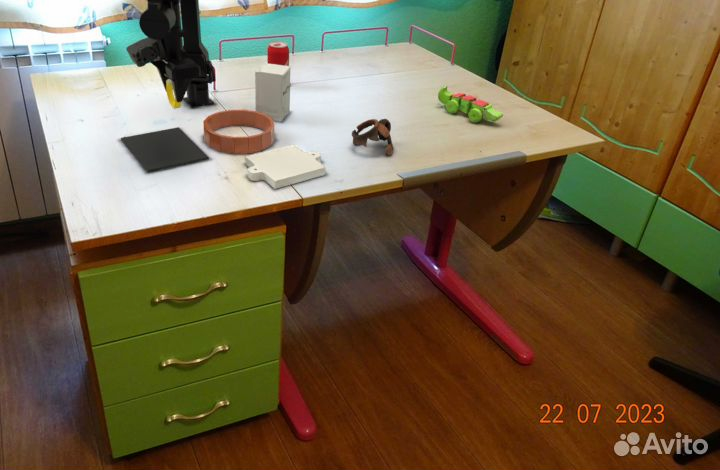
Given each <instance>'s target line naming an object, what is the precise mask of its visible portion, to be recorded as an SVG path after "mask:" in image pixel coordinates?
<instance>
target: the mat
mask: <svg viewBox="0 0 720 470" xmlns="http://www.w3.org/2000/svg"><path fill="white" fill-rule="evenodd" d="M120 141H121V142H122V143H123V144H124V145H125V147H126V148H127V149H128V150H129V152H130V153H131V154H132V155H133V157H134V158H135V159H136V160H137V161H138V163H139V164H140V166H141V167H142V168H143V170H145V171H146V172H147V174H148V173H152V172H158V171H162V170H166V169H171V168H175V167H180V166H185V165H190V164H194V163H199V162H202V161H203V162H204V161H207V160H209V157H210V156H209V155H207V154H206V153H205V152H204V151H203V150H202V149H201V148H200V147H199V146H198V145H197V144H196V143H195V142H194V141H193V140H192V139H191V138H190V137H189V136H188V135H187V134H186V132H184V131H183V130H182V128H180V127H179V126H177V127H173V128H166V129H162V130H155V131H151V132H145V133H140V134H135V135H128V136H123V137H120Z"/></svg>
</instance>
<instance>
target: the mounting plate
mask: <svg viewBox="0 0 720 470" xmlns="http://www.w3.org/2000/svg"><path fill="white" fill-rule="evenodd" d="M244 157H245V159H244V162H245V165H246V166H247V178H248V179H249V180H250V181H252V182H258V181H265V183H267V184H268V185H270V187H272V188H273V189H274V190H276V189H279V188H284V187H287V186H290V185H294V184H297V183H301V182H304V181H308V180H312V179H315V178H318V177H319V178H320V177H323V176H325V175H326V168H327V166H325V165H323V163H321V160H322V159H321V158H322V155H321V153H319V152H318V151H314V150H313V151H304V150H303V149H302V148H300V147H299V146H297V145H296V144H291V145H287V146H283V147H279V148H275V149H271V150H266V151H262V152H257V153H253V154H250V155H246V156H244Z"/></svg>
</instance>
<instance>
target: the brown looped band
mask: <svg viewBox="0 0 720 470" xmlns="http://www.w3.org/2000/svg"><path fill="white" fill-rule="evenodd" d="M369 127H371V128H370V129H369V130H367V131H365V132H363V133H362V131H364V130H365V129H367V128H369ZM356 129H357V130H356ZM356 129H353V130H352V131H351V136H352V145H354V146H363V147H365V148H367V147H368V145H367V144H368V140H369V141H373V142H377V143H378V142H380V141H382V142H386V143H387V146H386V147H385V151H386V155H387V156H388V157H389V156H390V155H392V154H393V152H394V144H393V140H392V137H391V129H392V124H391V121H390V120H389V119H388V118H382V119H379V120H378V119H376V118H370V119H367V120H365V121H362V122H361V123H360V124H358V125H356ZM360 133H361V134H360Z"/></svg>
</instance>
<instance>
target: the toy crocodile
mask: <svg viewBox="0 0 720 470" xmlns="http://www.w3.org/2000/svg"><path fill="white" fill-rule="evenodd" d="M437 99H438V101H439V102H440V103H441V104H443V105H445V109H446V112H447V113H449V114H451V115H453V114H457V113H458V112H459V111H460V112H462V113H465V114H468V115H467V117H468V119H469V121H470V122H471V123H473V124H476V123H479V122H480V121H481V120H484V121H488V122H490V123H495V122H497V121H498V120H500V119H501V118H503V117H504V113H503V112H500V111H498V110H497V109H495V108H494V107H493V104H491V103H490V102H488V101H485V100H483V99H479V98H478V99H477V97H476V96H473V95H471V94H469V95H466V93H464V92H463V93H461V92H457V93H454V92H450V91H448V85H445V86H443V87H442V88H440V90H439V91H438V94H437Z"/></svg>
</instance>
